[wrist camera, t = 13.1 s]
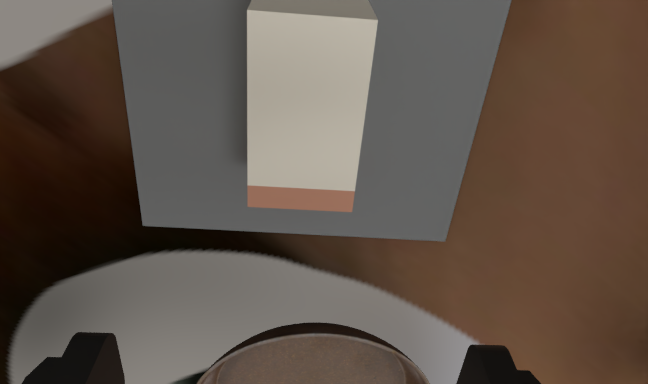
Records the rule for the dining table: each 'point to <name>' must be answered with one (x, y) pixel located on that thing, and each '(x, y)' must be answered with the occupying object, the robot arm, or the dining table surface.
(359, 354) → the plant saucer
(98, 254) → the dining table surface
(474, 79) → the mat
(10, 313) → the dining table surface
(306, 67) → the cream block
